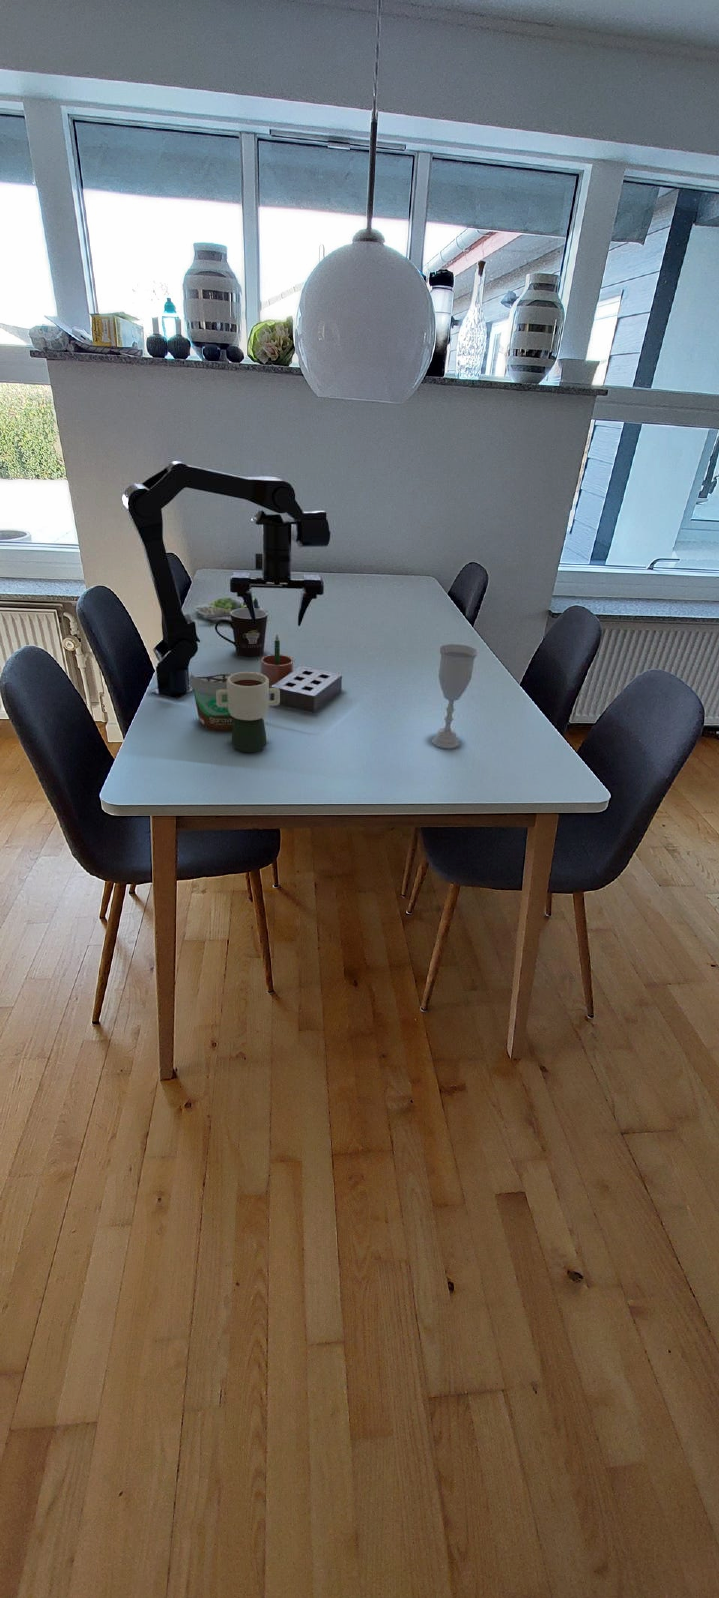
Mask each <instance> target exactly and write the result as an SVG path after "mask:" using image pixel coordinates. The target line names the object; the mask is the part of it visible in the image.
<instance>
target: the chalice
mask: <svg viewBox="0 0 719 1598" xmlns="http://www.w3.org/2000/svg"><path fill="white" fill-rule="evenodd" d="M438 651H439V654H440V659H439V668H438V681H439V685H440V689H441V691H442V694H443V697H444V699H445V700H447V701H448V705H447V707H446V708H445V711H446V716H445V717H444V721H445V725H444V727H443V728H439V730H437V731H436V734H435V735H434V737H433V739H432V744H433V745H434V746H436V747H438V748H441V749H442V748H443V749H454V748H457V747H459V744H460V743H459V741H458V736H457V733H456V731H455V730H454V729H452V727H451V724H452V722H453V721H454V718H453V713H454V712H455V708H454V704H455V701H458V700H460V698H461V697H462V696H463V694H464V693H465V691H466V690H467V689H468V686H469V684H470V682H471V680H472V677H473V670H474V663H475V659H476V657H477V656H478V654H479V651H478V649H476V648H475V647H472V646H469V645H465V644H456V643H455V644H453V643H452V644H444V645H442V646H440V647H439V648H438Z"/></svg>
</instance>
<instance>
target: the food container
mask: <svg viewBox="0 0 719 1598" xmlns="http://www.w3.org/2000/svg"><path fill="white" fill-rule="evenodd" d="M251 672H254V671H253V670H251ZM230 675H231V674H226V673H224V674H223V673H221V674H214V675H208V676H194V675H193V673H192V672H190V675H189V686H190V687H192V689H194V690H193V695H194V701H195V705H196V711H197V716H198V722H199V725H200V726H202V727H203V728H205V729H207V730H209V731H213V732H222V733H223V732H224V733H225V732H226V733H227V732H232V731H233V722H234V719H235V718H234V717H233V716H231V714H230V712H229V710H228V707H221V708H220V707H217V704H216V691H217V690H219V689H227V679H228V677H229V676H230ZM222 702H228V699H227V695H222Z"/></svg>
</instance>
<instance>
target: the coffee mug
mask: <svg viewBox="0 0 719 1598" xmlns="http://www.w3.org/2000/svg"><path fill="white" fill-rule="evenodd" d="M254 609H255V608H254ZM266 611H267V610H266ZM266 611H265V610H264V609H263V610H261V609H255V616H256V625H254V624H253V621H252V618H251V616H250V613H249V610H248V608H240V609H235V610H232V611H231V612H230V615H231V621H229V620H226V619H222V620H219V621H218V622H215V625H214V630H215V633H216V634H217V635H218V636H219V637H220V638H222V639H223V640H224V641H227V642H229V643H230V644H232V645H233V646H234V648H235V653H236V655H237V656H239V657H243V658H258V657H261V656H263V655H264V651H265V642H266V633H267V624H268V617H269V616H268V614H269V613H268V612H266ZM221 623H227V624H228V625H229V626H230V628H231V629H232V634H233V640H232V639H230V638H228V637H226V636H224V635H223V634H221V633H220V632H219V629H218V626H219V624H221Z"/></svg>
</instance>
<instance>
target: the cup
mask: <svg viewBox="0 0 719 1598" xmlns="http://www.w3.org/2000/svg"><path fill="white" fill-rule="evenodd" d="M293 671H294V659H293V658H292V657H291V656H288V655H284V654H280V665H275V654H268V655H264V656H262V657H261V658H260V674H262V675H265V676H266V677H267V678H268V679H269V687H271V686H272V685H274V684H275V683H277V682H278V681H280V680H281V679H283V678H284V677H286V676H287V675H289V674H290V673H292V672H293Z"/></svg>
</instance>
